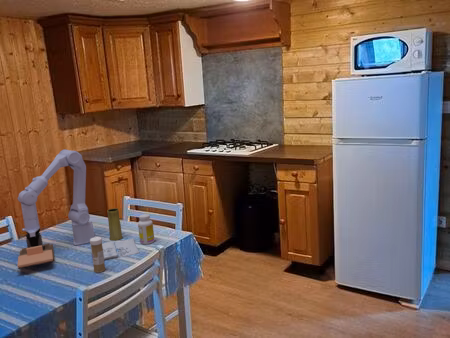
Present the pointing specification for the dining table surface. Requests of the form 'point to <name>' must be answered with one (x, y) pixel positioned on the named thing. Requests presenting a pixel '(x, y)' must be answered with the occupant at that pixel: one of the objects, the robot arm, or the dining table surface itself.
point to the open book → (124, 249)
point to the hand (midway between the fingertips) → (35, 247)
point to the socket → (45, 247)
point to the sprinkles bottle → (97, 254)
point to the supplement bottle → (145, 229)
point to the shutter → (35, 256)
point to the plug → (38, 242)
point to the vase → (114, 224)
